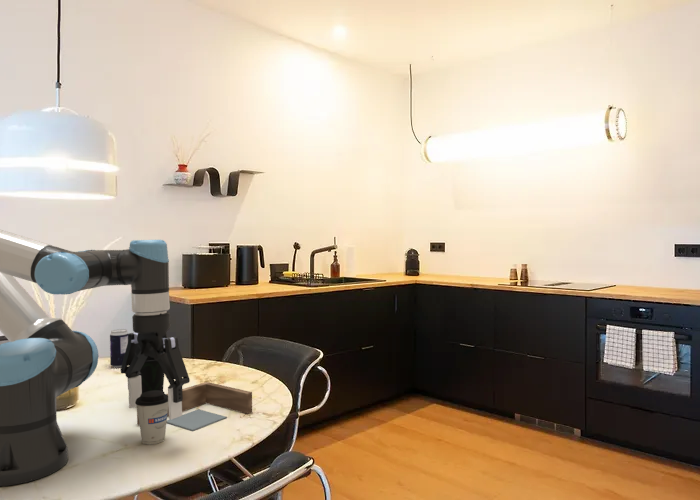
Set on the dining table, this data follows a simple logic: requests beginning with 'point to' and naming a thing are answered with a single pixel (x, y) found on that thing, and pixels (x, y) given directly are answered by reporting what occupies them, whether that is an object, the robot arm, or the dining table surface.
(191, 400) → the corner wall
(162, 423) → the coffee cup
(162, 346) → the robot arm
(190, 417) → the pad
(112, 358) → the beverage can
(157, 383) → the cup
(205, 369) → the dining table surface
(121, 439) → the dining table surface
